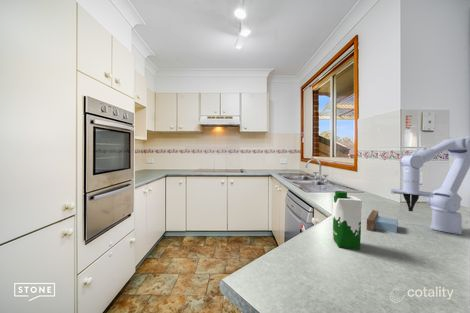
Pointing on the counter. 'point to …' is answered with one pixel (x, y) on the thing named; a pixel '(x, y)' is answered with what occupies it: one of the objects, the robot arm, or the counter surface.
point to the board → (371, 220)
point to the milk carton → (346, 220)
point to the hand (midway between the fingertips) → (410, 210)
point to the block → (386, 224)
